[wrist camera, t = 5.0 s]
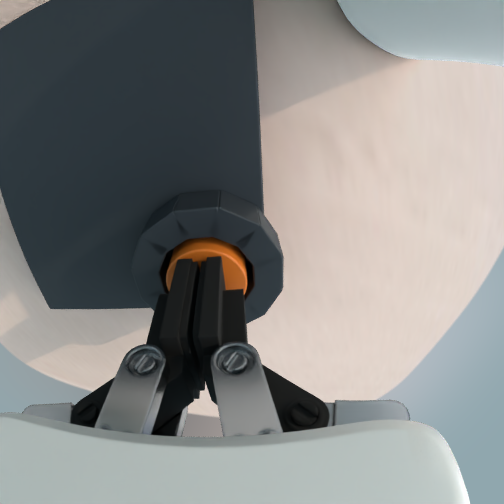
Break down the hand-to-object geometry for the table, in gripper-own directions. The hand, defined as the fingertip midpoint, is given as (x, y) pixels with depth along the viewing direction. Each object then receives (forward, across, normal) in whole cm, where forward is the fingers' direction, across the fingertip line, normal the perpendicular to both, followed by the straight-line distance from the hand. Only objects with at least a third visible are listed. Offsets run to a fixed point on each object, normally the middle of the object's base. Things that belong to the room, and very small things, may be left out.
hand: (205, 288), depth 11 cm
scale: (+3, +4, -5) cm, 7 cm away
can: (+4, -9, -12) cm, 16 cm away
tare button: (+2, 0, 0) cm, 2 cm away
